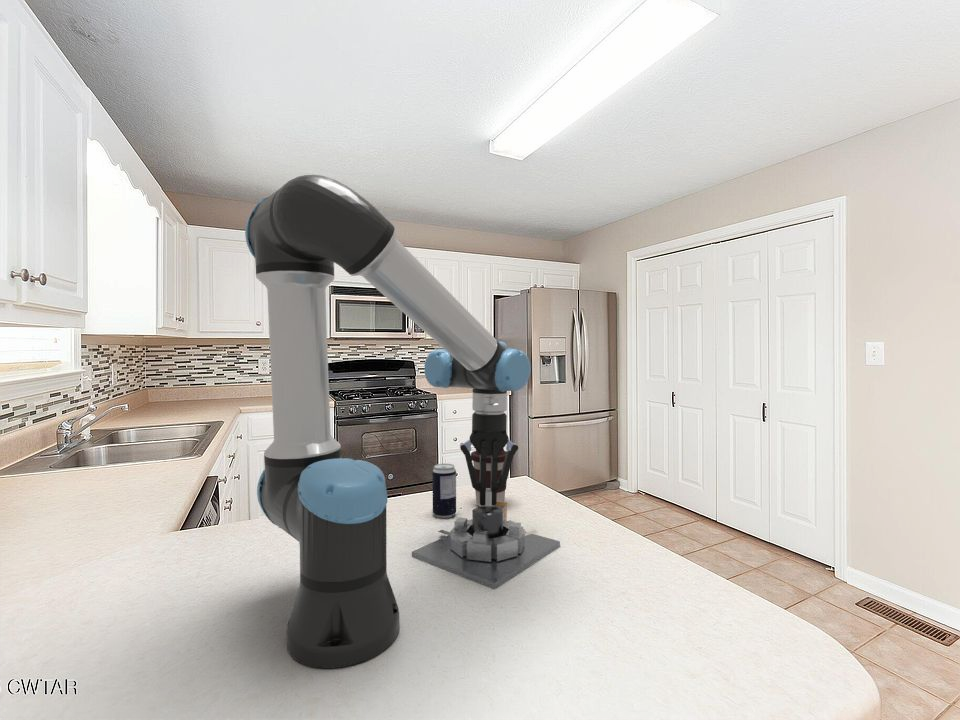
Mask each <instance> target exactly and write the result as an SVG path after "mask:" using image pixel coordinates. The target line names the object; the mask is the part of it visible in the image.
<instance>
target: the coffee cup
mask: <svg viewBox="0 0 960 720" xmlns="http://www.w3.org/2000/svg"><path fill="white" fill-rule="evenodd" d="M506 453H507V450H505V447H504V448H503V449H502V451H501V452H500V453H499V454H498V474H497V482H498V481H499V478H500V475H501V471H502V467H503V464H504V460H505V456H506ZM470 455H471V459H472V463H473V467H474V471H475V476H476V480H477V482H480V454H479V453H478V452H477V450H476V449H475V450H474V451H472V452H470ZM507 483H508V482H506V485H505V488H501V489H498V490H497V502H502V503H505V502H506V501H505V500H506V499H505V498H506V497H505V496H506V490H507ZM490 484H491V455H487V460H486V488H491V486H490ZM474 491H475V502H476V503H475V504H476V506H477V507H483V506H481V505H480V491H479V490H478V489H474ZM493 506H494V505H492V507H493Z"/></svg>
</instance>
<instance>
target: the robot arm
mask: <svg viewBox="0 0 960 720" xmlns="http://www.w3.org/2000/svg"><path fill="white" fill-rule="evenodd" d="M244 230H245V232H244V236H245V242H246V246H247V247H248V250H249V252H250V254H251V255H252V256H253V258H254V262H255V277H256V279H257V280H258V281H259V282H261V284H262V285H263V286H264V287H265V288H266V289H267V290H266V291H267V312H268V335H269V355H270V361H269V362H270V379H271V400H272V401H271V402H272V403H271V404H272V405H271V406H272V423H273V428H272V429H273V442H272V443H270V444H269V446H268V447H267V448H266V449H265V450H264V452H263V459H264V460H263V462H264V469H263V471H262V472H261V473H260V476H259V479H258V482H257V487H256V496H257V497H256V498H257V501H258V504H259V506H260V509H261V510H262V512H263V514H264V515H265V517H267V519H268V520H269V521H270V523H272V524H273V525H275V526H276V527H278V528H279V529H280V530H281V529H282V530H283V531H284V532H285V533H287V534H288V535H289V536H290V537H292V538H293V539H295V540H296V542H299V543H298V544H299V575H300V576H299V587H298V591H297V593H296V596H295V601H294V603H293V608H292V611H291V615H290V618H289V620H288V622H287V626H286V627H287V628H286V648H287V653H289V655H290V656H291V657H292V658H293V660H295V661H297V662H298V663H301V664H303V665H306V666H309V667H314V668H322V669H323V668H324V669H325V668H326V669H328V668H329V669H332V668H343V667H347V666H353V665H356V664H360V663H362V662H365V661H368V660H370V659H372V658H374V657H376V656H378V655H380V654H381V653H382V652H384V651H385V650H386V649H387V648H389V647H390V646H391V645H392V644H393V643H394V642H395V640H396V639H397V637H398V634H399V632H400V609H399V605H398V603H397V599H396V596H395V593H394V591H393V587H392V585H391V583H390V579H389V577H388V576H389V575H388V572H387V503H388V490H387V486H386V485H387V484H386V477H385V475H384V473H383V471H382V470H381V468H380V467H378V466H377V465H375V464H374V463H371V462H369V461H365V460H361V459H356V460H354V459H353V458H348V457H345V458H344V457H343V458H342V445H341V443H340V442H339V441H337V440H336V439H335V438H334V437H333V436H332V434H331V433H332V432H331V408H330V407H331V406H330V386H329V385H330V384H329V383H330V380H329V360H328V359H329V356H328V335H327V334H328V332H327V330H328V329H327V328H328V326H327V306H326V289H327V287H328V286H329V285H330V284H331V283H332V282H334V280H335V264H336V265H338V266H339V267H340V268H342V269H343V270H344V271H345V272H346V273H348V274H349V276H351V277H352V276H353V277H356V276H361V277H362V278H363V279H365V280H366V281H367V282H368V283H370V285H371V286H373V287H374V288H375V289H376V290H377V291H378V292H379V293H380V294H382V295H383V296H384V297H385V298H386V299H387V300H389V301H390V303H392V304H393V305H394V306H395V307H396V308H397V309H398V310H400V311H401V312H402V313H404V315H405V316H406V317H407V318H409V319H410V320H411V321H412V322H413V323H414V324H415V325H416V326H417V327H419V328H420V329H421V330H422V331H424V332H425V334H427V335H428V336H429V337H430V338H432V340H433V341H435V342H436V343H437V345H439V346H440V347H441V348H442V349H435V350H432V351H430V352H429V353H428V354H427V356H426V359H425V361H424V371H423V373H424V376H425V379H426V381H427V383H428V384H429V385H430V386H432V387H434V388H443V389H447V388H464V389H465V388H466V389H472V405H471V409H472V411H474V412H473V413H472V414H471V416H472V417H471V418H472V419H471V433H470V435H469V439H467V441H464V442H461V443H460V444H459V448H460V450H461V452H462V454H463V455H464V457H465V461H466V464H467V469H468V474H469V478H470V483H471V486H472V488H473V489H474V490H475V489H478V490H479V491H480V505H481V506H492V505H496V503H497V490H498V489H501V488H505V485H506V486H507V483H508V482H507V481H508V478H509V474H510V470H511V467H512V462H513V459H514V456H515V455H516V453H517V451H519V446H518V445H517V443H515V442H512V441H511V440H510V438H509V435H508V431H507V428H508V427H507V425H508V424H507V421H508V420H507V419H508V418H507V417H508V414H506V412H507V410H508V392H516V391H520V390H521V389H523V388H524V387H525V386H526V385H527V383H528V382H529V379H530V376H531V372H532V370H531V369H532V367H531V361H530V359H529V357H528V355H527V354H526V353H525V352H524V351H523V350H519V349H515V348H512V347H509V348H508V345H507V344H506V342H504V341H498V340H497V339H496V338H495V337H494V336H493V335H492V333H490V332H489V331H488V329H486V328H485V327H484V325H482V324H481V323H480V322H479V321H478V319H476V317H474V315H473V314H471V312H469V311H468V309H466V307H465V306H463V304H462V303H461V302H460V301H459V300H457V298H456V297H455V296H454V295H453V294H452V293H450V291H449V290H448V289H447V288H446V287H445V286H444V285H443V284H442V283H441V282H440V281H439V280H438V279H437V278H436V277H435V276H434V275H433V274H432V272H430V270H428V269H427V268H426V267H425V265H424V264H422V263H421V262H420V261H419V260H418V259H417V258H416V257H415V256H414V255H413V254H412V252H410V251H409V250H408V249H407V247H405V246H404V245H403V244H402V243H401V241H400V240H399V239H398V238H397V228H396V226H394V225H393V224H392V223H391V222H390V221H389V220H388V219H387V217H385V216H384V215H383V214H382V212H380V211H379V209H377V208H376V207H375V206H374V205H373V204H372V203H370V202H369V201H368V200H367V199H366V198H364V196H362V195H360V194H359V193H358V192H357V191H355V190H354V189H352V188H350V187H349V186H348V185H346V184H343V183H342V182H340V181H338V180H336V179H333V178H331V177H328V176H325V175H320V174H319V175H318V174H305V175H304V174H303V175H300V176H296V177H294V178H292V179H290V180H288V181H287V182H286V183H284V184H283V185H282V186H281V187H280V188H279V189H277V190H275V192H274V191H273V193H272V194H270V195H268V196H266V197H264V198H263V199H261V200H260V201H259V202H258V203H257V204H256V205H255V206H254V208H253V209H252V211H251V212H250V215H248V218H247V220H246V225H245V228H244ZM472 446H473V448H474V449H475V451H476V450H477V452H478V453H479V454H480V482H477V480H476V476H475V471H474V467H473V466H474V464H473V461H472V459H471V451H472ZM505 447H506V448H505ZM503 448H504V449H505V450H506V452H507V453H506V456H505V460H504V464H503V467H502V471H501V475H500V478H499V481H498V482H497V474H498V454H499V453H500V452H501V451H502V449H503ZM487 455H491V484H490V486H491V488H486V460H487ZM506 482H507V483H506Z"/></svg>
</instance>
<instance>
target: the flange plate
mask: <svg viewBox="0 0 960 720" xmlns="http://www.w3.org/2000/svg"><path fill="white" fill-rule="evenodd" d="M471 514H472V517H471V518H472V531H473V534H474V532H475V531H476V530H481V531H488V539H493V538H497V537H501V536H503V510H502V509H500V508H497V507H492V506H483V507H479V506H477V507H475V508H473V509H472V513H471ZM437 532H438V533H440V534H443V535H446V536H444V537H441V538H440V539H437V540H435V541H432V542H430V543H428V544H425V545H423V546H421V547H418V548H417V549H415V550H413V551H411V557H412V558H414V559H417V560H419V561H421V562H424V563H426V564H430V565H431V566H435V567H437V568H440V569H442V570H444V571H447V572H451V573H453V574H455V575H457V576H460V577H463V578H466V579H468V580H470V581H473V582H476V583H478V584H480V585H483V586H486V587H489V588H491V589H495V590H496V589H497V588H498V587H500V586H502V585H503V584H504V583H506V582H507V581H510V579H512V578H514V577H515V576H517V575H518V574H520V573H521V572H523V571H525V570H526V569H527V568H529V567H531V566H532V565H534V564H535V563H537V562H538V561H540V560H541V559H543V558H544V557H546V556H548V555H549V554H551V553H552V552H554V551H555V550H557V549H558V548H560V547H561V541H559V540H556V539H552V538H549V537H545V536H542V535H538V531H537V530H530V531H528V532H527V531H525V545H524V547H523V550H522V552H521V554H518V556H515V557H512V558H508V559H504V560H501V561H496V560H494V559H492V561H491V562H488V561H479V560H469V559H467V557H463V558H462V557H461V556H459V555H458V554H457V553H455V552H454V551H453V550H452V549H451V547H450V531H446V530H443V529H440V530H438V531H437ZM536 533H537V534H536Z"/></svg>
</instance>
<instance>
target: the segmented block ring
mask: <svg viewBox="0 0 960 720" xmlns="http://www.w3.org/2000/svg"><path fill="white" fill-rule="evenodd" d="M507 505H508V503H507V502H504V503H502V502H497V503H496V505H494V506H493V507H497V508H500V509H502V510H503V536H501V537H497V538H493V539H488V531H481V530H476V531H475V532H474V534H473V531H472V519H468V517H467V518H466V517H457V518H456V519H455V520H454V526H453V528H452V529H451V530H450V531H449V532H450V547H451V549H452V550H453V551H454V552H455V553H457V554H458V555H459V556H461V557H462V558H463V557H467V559H469V560H479V561H488V562H491V561H492V559H494V560H496V561H501V560H504V559H508V558H512V557H515V556H518V554H521V552H522V550H523V547H524V545H525V532H526V530H525V528H524V526H522V523H521V522H515V521H512V520H511V519H510V520H508V518H507V517H508V515H507V514H508V512H507V511H508V507H507Z"/></svg>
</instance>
